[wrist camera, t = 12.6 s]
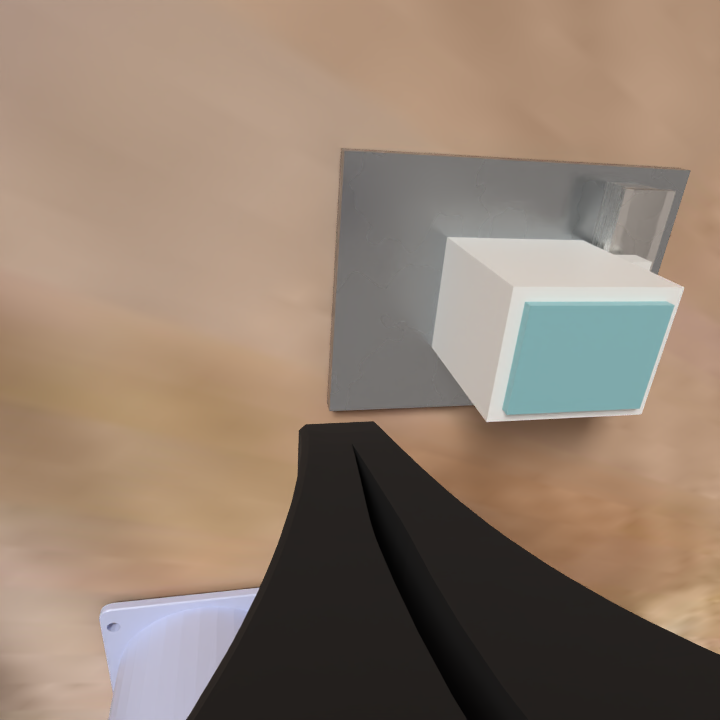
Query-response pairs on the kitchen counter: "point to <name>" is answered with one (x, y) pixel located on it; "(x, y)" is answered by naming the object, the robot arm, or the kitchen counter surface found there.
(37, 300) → the kitchen counter surface
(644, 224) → the rail
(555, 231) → the plate
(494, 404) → the block
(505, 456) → the kitchen counter surface
